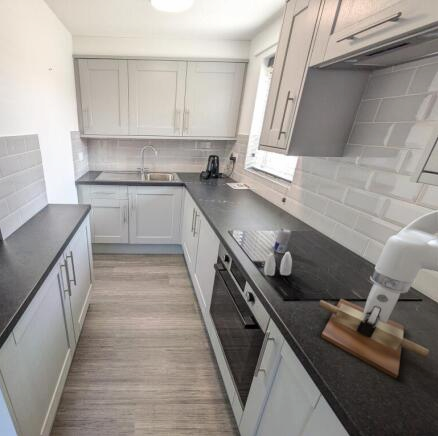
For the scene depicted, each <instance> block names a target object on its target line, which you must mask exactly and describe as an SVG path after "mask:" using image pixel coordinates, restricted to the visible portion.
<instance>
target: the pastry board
mask: <svg viewBox="0 0 438 436" xmlns="http://www.w3.org/2000/svg"><path fill="white" fill-rule="evenodd" d="M341 304H345V305H347V306H349V307H351V308H354V309H356V310H358V311H360V312H362V313H364V309H365V307H361V306H359V305H357V304H354V303H352V302H350V301H347V300H345V299H343V298H340V299H339V301H338V303H337V304H336V307H338V308H340V306H341ZM335 317H336V315H335V314H333V313H331V316H330V317H329V319H328V322H327V323H326V325H325V327H324V329H323V331H322V333H321V335H320V337H321V338H322V339H324V340H325V341H328V342H329V343H330V344H333V345H335V346H336V347H338V348H340V349H341V350H344V351H345V352H347V353H349V354H351V355H353V357H356V358H358V359H359V360H362V361H363V362H365V363H367V364H369V365H371V366H372V367H374V368H376V369H378V370H379V371H381V372H383V373H384V374H387V375H388V376H390V377H391V378H394V379H397V378H398V376H399V370H400V364H401V363H400V362H401V356H402V355H401V353H402V347H401V346H398V348H397V350H396V351H395V350H393V349H391V348H389V347H387V346H385V345H383V344H381V343H379V342H377V341H375V340H373V339H371V338H369V337H367V336H365V335H363V334H361V333H359V332H357V331H355V330H353V329H351V328H349V327H347V326H345V325H343V324H341V323H339V322H337V321H335V320H334V319H335ZM379 320H380V319H379ZM387 324H389V325H391V326H394V327H396V328H398V329H400V330H402V331H404V332H405V326H404V325H402V324H401V323H398V322H396V321H394V320H391V319H389V318H388V321H387Z"/></svg>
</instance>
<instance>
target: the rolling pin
mask: <svg viewBox="0 0 438 436" xmlns="http://www.w3.org/2000/svg"><path fill="white" fill-rule="evenodd" d="M317 306H318V307H319V308H322V309H323V310H326V311H327V312H329V313H331V314H335V315H336V317H335V319H334V320H335V321H337V322H339V323H341V324H343V325H345V326H347V327H349V328H351V329H353V330H355V331H357V329H358V326H359V324H360V322H361V320H362V321H363V319H364V317H365V314H364V313H362V312H360V311H358V310H356V309H354V308H351V307H349V306H347V305H345V304H341V306H340V308H338V307H337V305H336V306H335V305H334V304H332V303H329V302H327V301H326V300H323V299H320V301H319V303H318V305H317ZM367 319H369V317H367ZM404 333H405V330H404V331H402V330H400V329H398V328H396V327H394V326H391V325H389V324H387V323H383V322H381V321H380V320H379V321H378V323H377V325H376V329H375V331H374V333H373V335H372V336H371V339H373V340H375V341H377V342H379V343H381V344H383V345H385V346H387V347H389V348H391V349H393V350H395V351H396V350H397V348H398V346H401V348H403V349H406V350H407V351H409V352H412V353H414V354H416V355H418V356H419V357H422V358H424V359H426V358H427V356H428V355H429V352H430V350H429V349H428V348H426V347H424V346H422V345H419V344H418V343H415V342H413V341H411V340H409V339H407V338H405V337H404Z"/></svg>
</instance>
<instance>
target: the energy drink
mask: <svg viewBox="0 0 438 436" xmlns="http://www.w3.org/2000/svg"><path fill="white" fill-rule="evenodd" d="M291 235H292V231H291V229H288V228H284V227H280V228H279V229H278V231H277V235H276V238H275V242H274V246H273V251H274V252H275V253H278V254H285V253H286V252H287V249H288V245H289V241H290V237H291Z"/></svg>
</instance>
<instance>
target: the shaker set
mask: <svg viewBox="0 0 438 436" xmlns="http://www.w3.org/2000/svg"><path fill="white" fill-rule="evenodd" d="M279 267H280V268H279V275H281V276H285V277H287V276H290V275H291V273H292V267H293V259H292V254H291V252H290V251H286V252H285V253H284V255H283V256H282V258H281V261H280V266H279ZM263 273H264V276H270V277H272V276H275V273H276V259H275V255H274V254H273V253H269V254H268V256H267V257H266V259H265V262H264V268H263Z"/></svg>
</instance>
